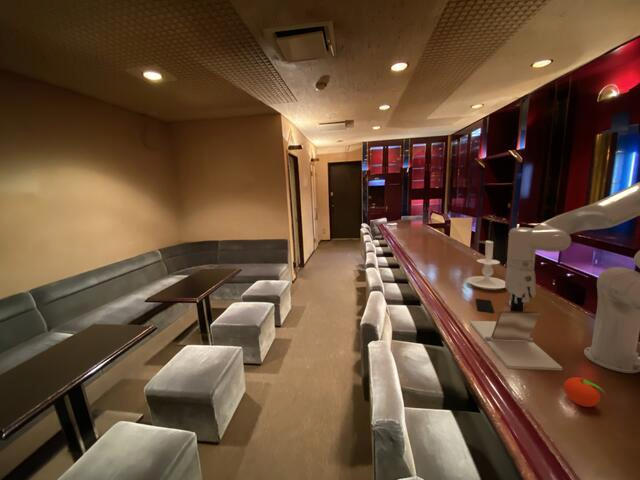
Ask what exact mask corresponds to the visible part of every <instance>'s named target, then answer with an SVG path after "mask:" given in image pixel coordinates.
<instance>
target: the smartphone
mask: <svg viewBox="0 0 640 480" xmlns="http://www.w3.org/2000/svg"><path fill="white" fill-rule="evenodd" d="M475 304H476V310H477V312H481V313H488V314H495V310H494V306H493V303H492V300H490V299H484V298H483V299H482V298H475Z"/></svg>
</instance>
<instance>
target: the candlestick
mask: <svg viewBox="0 0 640 480" xmlns="http://www.w3.org/2000/svg"><path fill="white" fill-rule="evenodd" d="M484 248H485V249H484V253H485V258H479V259H476V262H478V263H480V264H483V265H484V266H482V269H481V274H482V275H483V276H482V275H479V276H470V277H467V278H466V281H467V283H469V284H470V285H472V286H474V287H477V288H479V289H483V290H490V291H491V290H492V291H495V290H501V289H504V288H505V280H503V279H500V278H497V277H491V276H493V274H494V269H493V265H498V264H500V263H501V262H500V261H499V260H497V259H493V256H494V255H493V254H494V241H492V240H485V244H484ZM505 289H506V288H505Z"/></svg>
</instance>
